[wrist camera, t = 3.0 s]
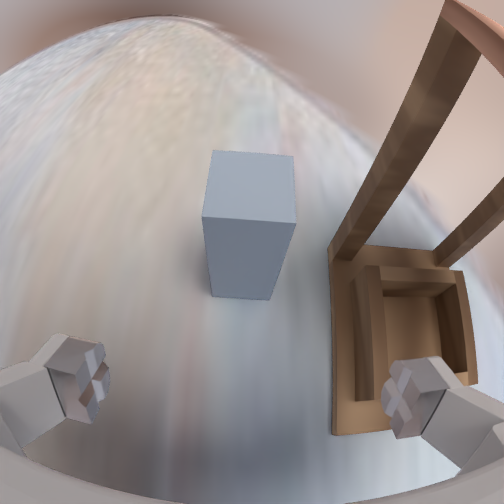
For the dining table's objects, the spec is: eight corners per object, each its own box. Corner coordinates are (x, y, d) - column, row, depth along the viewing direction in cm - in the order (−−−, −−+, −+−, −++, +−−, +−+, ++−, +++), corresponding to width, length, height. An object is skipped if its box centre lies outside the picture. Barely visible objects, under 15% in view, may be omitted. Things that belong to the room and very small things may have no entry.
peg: (212, 296, 22) (201, 216, 13) (217, 246, 24) (212, 150, 15) (269, 300, 22) (296, 223, 13) (270, 250, 24) (293, 156, 15)
